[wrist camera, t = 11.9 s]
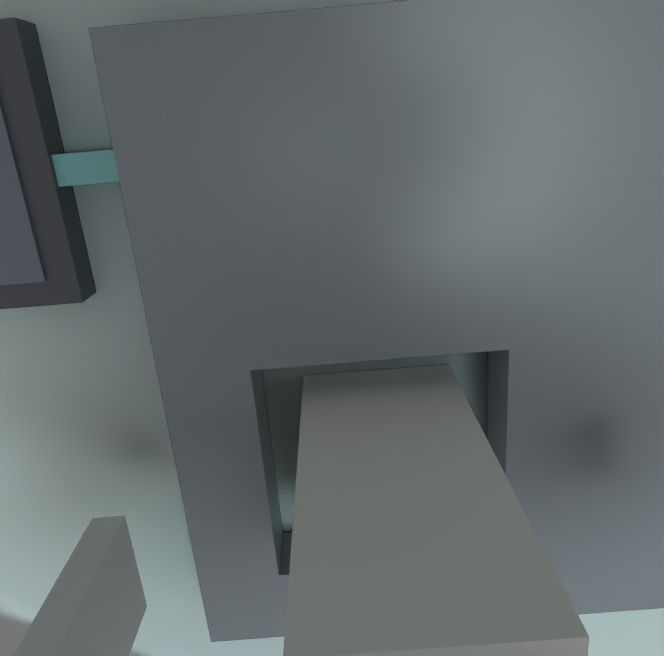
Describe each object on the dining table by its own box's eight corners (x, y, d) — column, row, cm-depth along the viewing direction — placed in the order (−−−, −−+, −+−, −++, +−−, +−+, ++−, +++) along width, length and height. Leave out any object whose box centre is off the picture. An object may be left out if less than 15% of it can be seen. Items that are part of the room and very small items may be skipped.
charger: (303, 375, 18) (281, 674, 8) (448, 364, 18) (596, 652, 8) (316, 497, 19) (310, 868, 10) (449, 486, 19) (576, 850, 10)
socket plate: (118, 39, 15) (88, 28, 13) (752, -15, 14) (817, -35, 13) (220, 594, 21) (211, 641, 19) (667, 560, 21) (702, 605, 19)
